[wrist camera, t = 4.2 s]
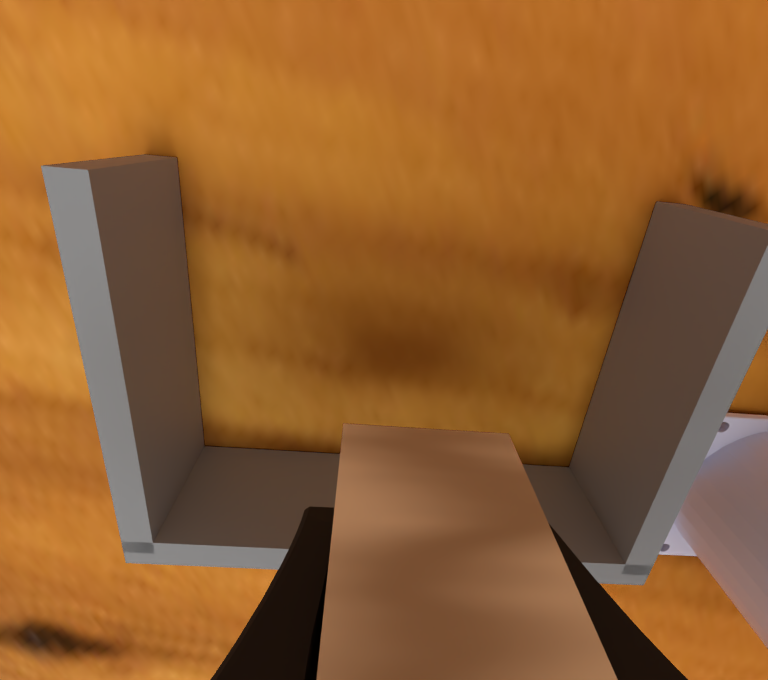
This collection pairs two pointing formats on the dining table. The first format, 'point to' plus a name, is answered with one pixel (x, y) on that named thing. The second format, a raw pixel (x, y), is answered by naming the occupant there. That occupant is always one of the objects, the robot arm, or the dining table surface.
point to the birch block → (447, 566)
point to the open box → (320, 470)
